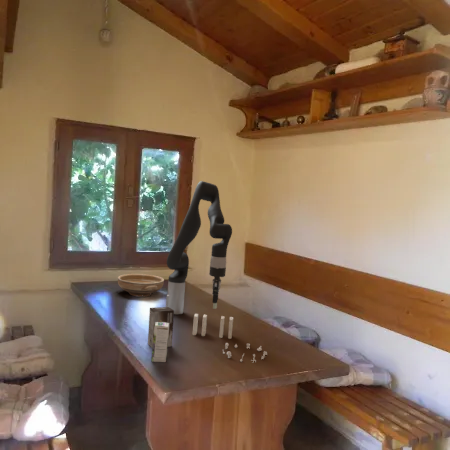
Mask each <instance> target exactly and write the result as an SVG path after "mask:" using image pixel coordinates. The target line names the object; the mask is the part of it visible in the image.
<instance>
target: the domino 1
mask: <svg viewBox="0 0 450 450" xmlns="http://www.w3.org/2000/svg"><path fill="white" fill-rule="evenodd" d="M198 321H199V313H194V315H193V321H192V323H193V324H192V325H193V326H192V336H197V334H198V324H199V322H198Z"/></svg>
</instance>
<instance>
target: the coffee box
mask: <svg viewBox="0 0 450 450" xmlns="http://www.w3.org/2000/svg"><path fill="white" fill-rule="evenodd" d="M174 315H175V314H174V310H173V309H171V308H169V307H166V306H164V307H163V306H161V307H158V306H157V307H149V316H148V319H149V320H148V331H147V332H148V333H147V344H148V345H149V347H150V348H152V347H153V337H154V327H155V323H156V322H165V323H169V334H168V345H167V348H168V347H173V333H174V317H175V316H174Z"/></svg>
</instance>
